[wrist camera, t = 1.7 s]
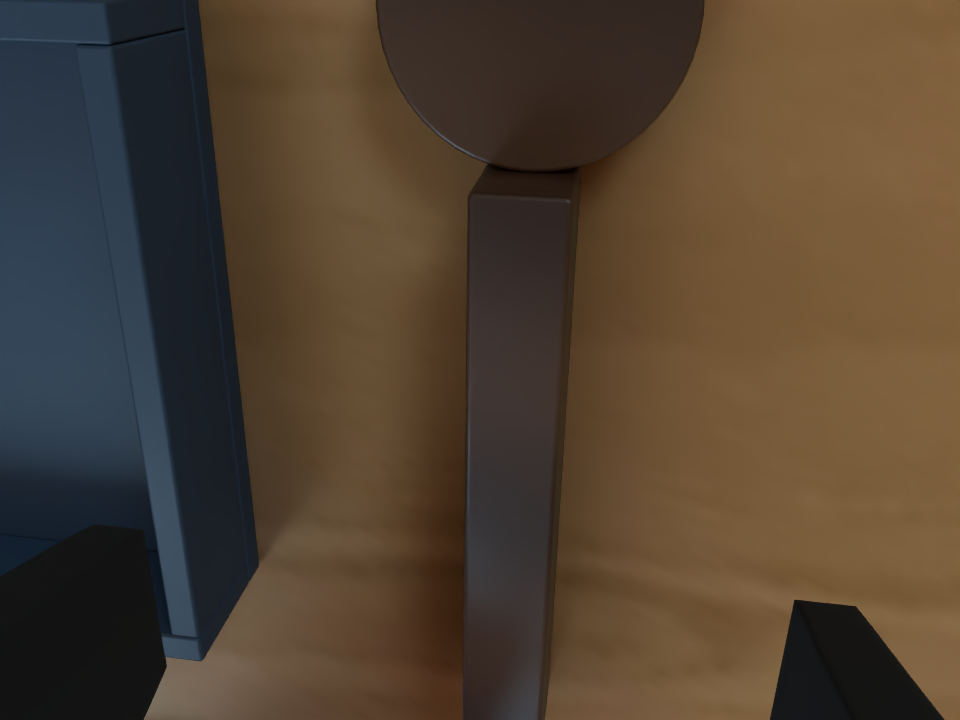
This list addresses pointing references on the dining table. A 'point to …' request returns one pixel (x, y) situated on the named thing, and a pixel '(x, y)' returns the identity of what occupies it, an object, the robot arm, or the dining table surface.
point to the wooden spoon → (525, 270)
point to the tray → (119, 304)
